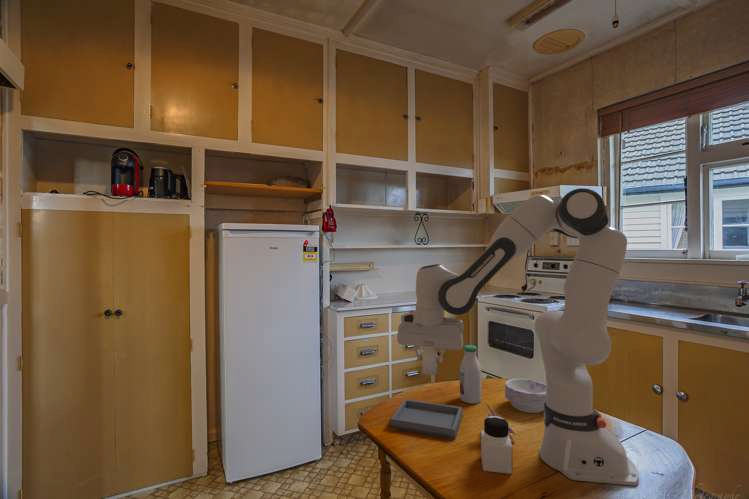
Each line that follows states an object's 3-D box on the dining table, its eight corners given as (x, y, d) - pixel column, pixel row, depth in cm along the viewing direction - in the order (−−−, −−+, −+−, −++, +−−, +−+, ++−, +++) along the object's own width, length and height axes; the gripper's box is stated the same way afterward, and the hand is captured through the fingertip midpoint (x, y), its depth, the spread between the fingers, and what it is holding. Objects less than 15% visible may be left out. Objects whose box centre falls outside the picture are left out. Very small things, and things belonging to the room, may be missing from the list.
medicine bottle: (512, 474, 94) (512, 427, 94) (483, 471, 96) (483, 424, 95) (508, 458, 101) (508, 414, 101) (481, 455, 103) (480, 412, 102)
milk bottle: (483, 398, 140) (483, 345, 140) (477, 406, 134) (477, 350, 133) (463, 394, 144) (463, 342, 144) (456, 401, 138) (456, 347, 138)
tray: (462, 416, 126) (462, 407, 126) (455, 439, 111) (455, 429, 111) (404, 407, 133) (404, 398, 133) (390, 428, 118) (390, 418, 118)
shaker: (438, 371, 118) (438, 339, 118) (435, 376, 114) (435, 343, 114) (423, 369, 120) (423, 338, 119) (420, 374, 115) (420, 341, 115)
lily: (515, 459, 103) (527, 425, 105) (474, 437, 106) (487, 404, 108) (506, 449, 114) (518, 419, 116) (469, 430, 117) (481, 400, 119)
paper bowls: (554, 404, 135) (554, 382, 135) (547, 421, 122) (547, 397, 122) (510, 395, 143) (510, 374, 143) (499, 410, 130) (499, 387, 130)
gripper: (465, 317, 116) (464, 361, 116) (401, 312, 123) (401, 354, 123) (462, 321, 110) (462, 368, 110) (395, 316, 117) (395, 360, 117)
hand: (429, 360), depth 117 cm, fingers closed on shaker, 5 cm apart
